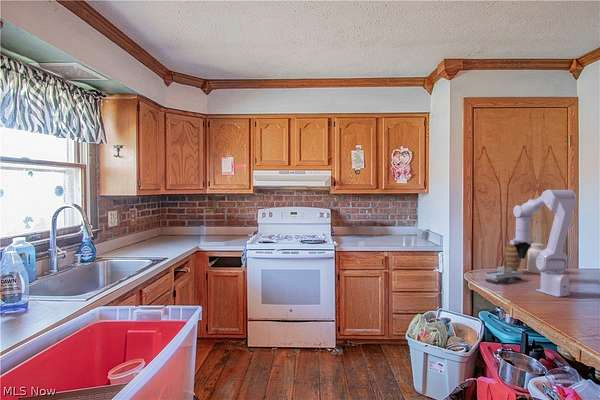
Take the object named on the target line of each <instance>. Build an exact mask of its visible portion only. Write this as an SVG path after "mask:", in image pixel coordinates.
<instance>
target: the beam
mask: <svg viewBox="0 0 600 400" xmlns="http://www.w3.org/2000/svg"><path fill="white" fill-rule="evenodd" d="M484 276H485V277H489V278H492V279H494V280H495V279H498V278H507V277H515V276H517V277H521V276H523V277H524V272H523V271H517V272H515V271H513V269H511V273H505V274H499V273H497V270H492V271H491V270H490V271H485V272H484Z"/></svg>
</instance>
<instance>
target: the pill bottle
mask: <svg viewBox="0 0 600 400" xmlns="http://www.w3.org/2000/svg"><path fill="white" fill-rule="evenodd" d="M530 244H531V246H530V247H529V249H528V251H527V263H526V265H527V268H526V269H527V272H529V273H533V274H540V275H541V271H539V269H538V268H537V266H536V259H537V257H538V256H539V254H540V252H541V251H543V250H544V244H543V243H536V242H534V243H530Z"/></svg>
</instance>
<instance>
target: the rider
mask: <svg viewBox="0 0 600 400" xmlns="http://www.w3.org/2000/svg"><path fill="white" fill-rule="evenodd" d="M496 271H497V273H499V274H505V273H511V267H508V266H507V265H502V266H497V268H496Z"/></svg>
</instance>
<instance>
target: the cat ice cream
mask: <svg viewBox="0 0 600 400" xmlns="http://www.w3.org/2000/svg"><path fill="white" fill-rule="evenodd" d="M510 240H513V238H512V237H511V238H510ZM510 240H508V242H507V243H506V247H505V248H504V257H505V259H504V260H505V262H506V264H505V266H506V267H511V269H513V271H515V272H518V270H519V268H520V266H521V262H522V258H519V256H518V252H517V250H516V248H515V246H514V245H513V244H510Z"/></svg>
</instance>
